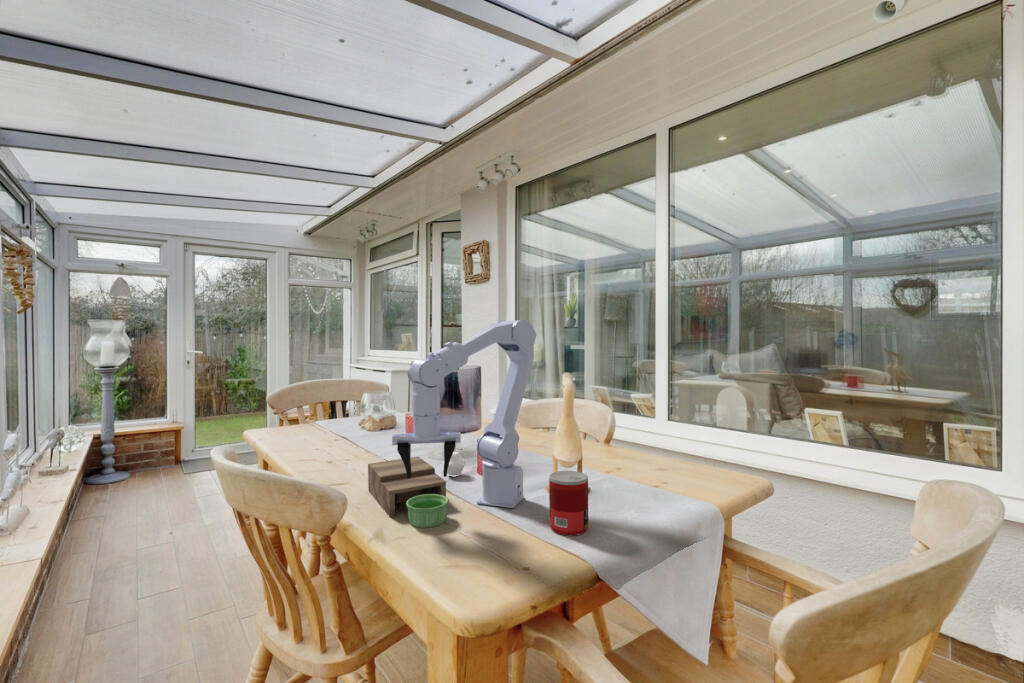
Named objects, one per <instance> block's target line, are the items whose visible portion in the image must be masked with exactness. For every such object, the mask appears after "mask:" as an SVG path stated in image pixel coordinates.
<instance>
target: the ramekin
mask: <svg viewBox="0 0 1024 683" xmlns="http://www.w3.org/2000/svg"><path fill="white" fill-rule="evenodd" d="M448 504H449V499H448V498H447V496H446V497H445V496H443V495H438V494H424V495H419V496H415V497H412V498H410V499H409V500H408V501H407V502H405V505H406V508H407V516H408V522H409V524H410V525H411V526H413V527H415V528H416V527H417V528H421V529H423V528H424V529H425V528H434V527H438V526H440V525H441V524H444V523H445V522H446V520H447V514H448V512H447V511H448Z"/></svg>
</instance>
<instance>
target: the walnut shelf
mask: <svg viewBox="0 0 1024 683" xmlns="http://www.w3.org/2000/svg"><path fill="white" fill-rule="evenodd" d="M435 468H436V467H434V466H432V465H431V464H429V463H428V462H427V461H425V460H424V459H422V458H421V457H419V456H412V457H411V478H407V472H406V469H405V465H404V463H403V460H402V458H399V459H392V460H384V461H379V462H373V463H371V462H370V463H368V464H367V476H368V479H367V480H368V482H367V485H368V492H369V493H370V494H371V496H372V497H373V498H374V499H375V501H376V502H377V504H379V506H380V508H381V509H382V510H385V511H384V512H385V513H386V515H389V516H388V517H389V518H392V517H391V516H393V517H395V516H396V506H398V504H403V503H406V502H407V501H408V500H409V499H410V498H412V497H415V496H419V495H424V494H438V495H443V496H445V497H447V481H446V480H445V479H443V478H442V477H441V476H439V475H438V474H437V473H436V470H435Z"/></svg>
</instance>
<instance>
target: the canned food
mask: <svg viewBox="0 0 1024 683" xmlns="http://www.w3.org/2000/svg"><path fill="white" fill-rule="evenodd" d="M548 479H549V480H548V481H549V484H548V487H549V488H548V490H549V491H548V494H549V496H548V497H549V504H548V505H549V526H550V529H551V531H553V532H554V533H556V534H558V533H559V534H558V535H561V534H564V535H563V536H568V535H573V536H578V535H577V534H580V535H582V533H583V534H584V533H586V532H587V531H588V528H589V476H588V475H587V474H585V473H584V472H582V471H581V472H580V471H575V470H574V471H573V470H560V471H555V472H552V473H550V474H549V478H548ZM586 530H587V531H586ZM585 531H586V532H585Z"/></svg>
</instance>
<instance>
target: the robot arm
mask: <svg viewBox="0 0 1024 683" xmlns="http://www.w3.org/2000/svg"><path fill="white" fill-rule="evenodd" d="M537 335H538V334H537V332H536V330H535V329H534V326H533V324H532V323H531V322H530V321H529V320H527V319H518V320H504V319H502V320H498V321H496V322H495V323H491V324H490V325H489V326H487V327H486V328H484V329H482V330H481V331H480V332H478V333H476V334H475V335H474V336H471V337H470V338H468V339H466V341H463V342H462V343H459V342H456V341H454V342H453V341H448V342H445V343H444V347H443V348H440V349H439V350H437V351H434V352H429V353H427V354H426V355H427V357H426V358H418V359H416V360H414V361H413V362H411V365H410V367H409V370H408V371H407V372H406V374H407V377H408V380H409V381H410V382H411V384H412V418H413V419H412V421H413V422H412V423H413V424H412V425H413V426H412V427H413V428H412V430H413V432H409V433H408V432H407V433H398V434H396V433H395V434H392V438H391V440H392V441H391V443H392V444H391V445H392V446H397V447H396V449H397V452H398V455H399V456H400V459H402V460H403V463H404V465H405V469H406V472H407V478H411V458H412V457H411V452H412V448H411V446H412V445H413V444H419V445H420V444H441V443H442V444H443V458H444V459H443V460H444V461H443V462H444V466H443V474H442V475H443V478H446V477H448V474H447V470H448V465H449V462H450V459H451V456H452V454H453V452H455V450H456V446H457V445H456V444H459V443H461V442H462V441H461V432H460V431H441V407H440V406H441V401H440V400H441V398H440V391H441V390H440V385H441V384H443V381H444V379H445V377H447V376H448V375H450V374H451V373H453V372H455V371H457V370H459V369H460V368H462V367H463V366H465V365H467V363H468V361H469V357H470V356H472V355H474V354H477V353H478V352H480V351H482V350H484V349H486V348H488V347H490V346H491V345H494V344H497V345H498V346H499V347H500V348H501V349H502V350H503V352H505V353H506V355H507V356H508V358H509V361H510V362H509V366H508V369H507V373H506V376H505V379H504V383H503V385H502V388H501V389H502V390H501V393H500V396H499V399H498V403H497V407H496V410H495V413H494V416H493V420H492V421H491V422H490V423H489V424H487V425H486V426H485V427H484V430H483V433H482V434H481V436H480V437H479V438H478V440H477V443H476V453H477V454H478V456H479V457H481V463H482V464H481V465H482V496H481V497H480V498H479V499H477V500H476V504H479V505H485V506H493V507H499V508H500V507H502V508H508V509H514V508H515V507H516V506H517V505H518V504H519V503H520V502H521V501H523V499H524V498H525V495H524V472H523V468H522V466H519V465H516V464H514V463H515V462H516V460H517V459H518V456H519V441H520V435H519V433H518V432H517V429H516V428H515V427H516V423H517V420H518V416H519V413H520V410H521V406H522V402H523V399H524V396H525V393H526V389H527V386H528V385H527V384H528V381H529V379H530V378H529V377H530V374H531V371H532V367H533V363H534V359H535V353H534V352H535V350H534V348H535V347H534V344H535V341H536V338H537Z"/></svg>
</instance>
